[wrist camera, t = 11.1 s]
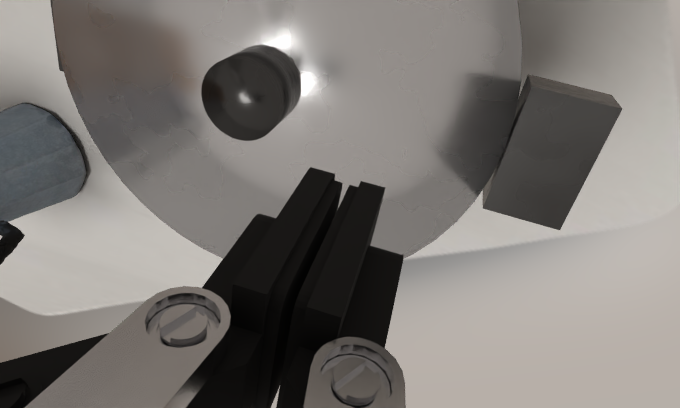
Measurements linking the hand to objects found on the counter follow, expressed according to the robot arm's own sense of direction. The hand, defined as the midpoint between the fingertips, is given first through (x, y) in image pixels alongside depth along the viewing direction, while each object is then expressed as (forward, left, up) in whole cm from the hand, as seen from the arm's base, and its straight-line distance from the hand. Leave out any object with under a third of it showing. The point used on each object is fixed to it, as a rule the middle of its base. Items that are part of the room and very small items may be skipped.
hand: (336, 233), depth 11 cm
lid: (0, -4, -10) cm, 11 cm away
